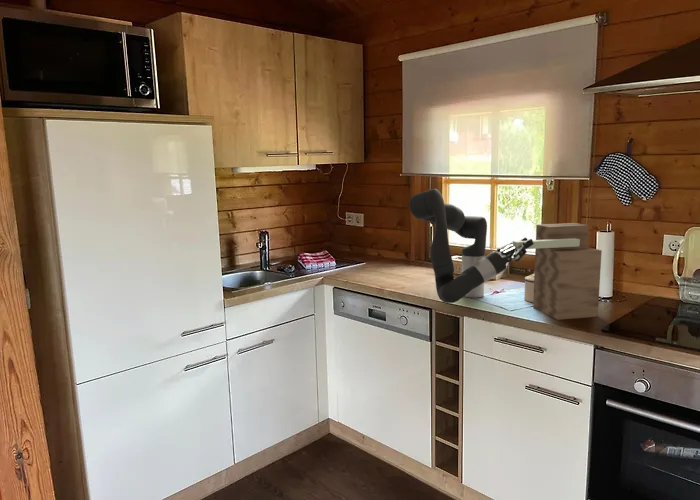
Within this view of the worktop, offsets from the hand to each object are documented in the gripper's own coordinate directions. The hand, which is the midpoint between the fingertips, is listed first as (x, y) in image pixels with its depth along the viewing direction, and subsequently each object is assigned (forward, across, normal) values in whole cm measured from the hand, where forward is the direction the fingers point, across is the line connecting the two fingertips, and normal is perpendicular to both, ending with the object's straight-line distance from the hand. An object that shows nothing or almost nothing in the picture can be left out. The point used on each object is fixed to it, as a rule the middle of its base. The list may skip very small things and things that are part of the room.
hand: (529, 240), depth 184 cm
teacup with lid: (+1, +23, +33) cm, 41 cm away
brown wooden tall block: (+1, +4, +33) cm, 33 cm away
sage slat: (+4, 0, +6) cm, 7 cm away
